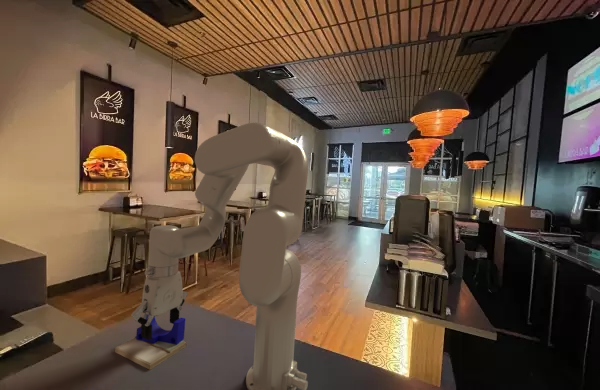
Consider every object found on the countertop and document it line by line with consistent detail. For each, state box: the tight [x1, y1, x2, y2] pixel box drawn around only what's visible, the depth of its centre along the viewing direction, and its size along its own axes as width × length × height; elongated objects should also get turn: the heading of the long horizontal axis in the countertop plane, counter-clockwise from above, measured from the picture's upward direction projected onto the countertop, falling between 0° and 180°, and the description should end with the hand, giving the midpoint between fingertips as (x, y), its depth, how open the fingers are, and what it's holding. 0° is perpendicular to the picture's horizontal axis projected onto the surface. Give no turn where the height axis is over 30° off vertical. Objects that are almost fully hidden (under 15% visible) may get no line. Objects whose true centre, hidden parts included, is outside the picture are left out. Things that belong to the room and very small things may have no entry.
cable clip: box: [135, 315, 186, 345], centre depth 75 cm, size 12×4×6 cm, turn 77°
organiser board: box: [114, 336, 187, 371], centre depth 73 cm, size 14×11×2 cm
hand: (161, 330), depth 75 cm, fingers open, 8 cm apart
